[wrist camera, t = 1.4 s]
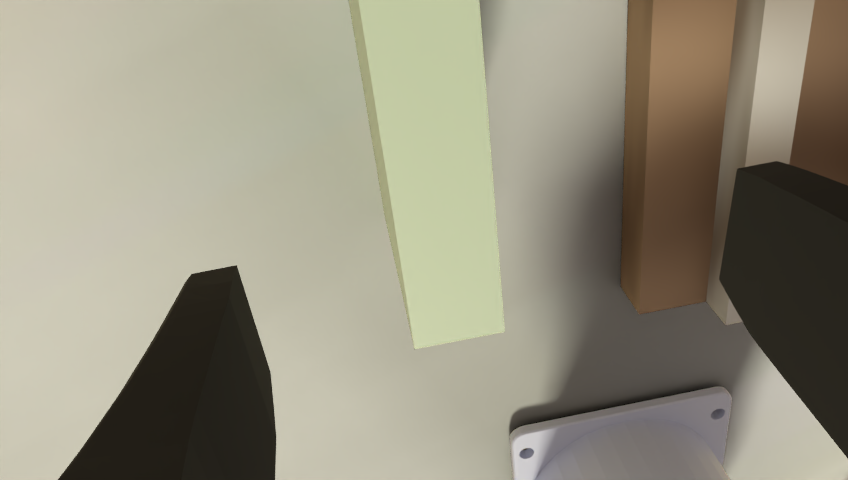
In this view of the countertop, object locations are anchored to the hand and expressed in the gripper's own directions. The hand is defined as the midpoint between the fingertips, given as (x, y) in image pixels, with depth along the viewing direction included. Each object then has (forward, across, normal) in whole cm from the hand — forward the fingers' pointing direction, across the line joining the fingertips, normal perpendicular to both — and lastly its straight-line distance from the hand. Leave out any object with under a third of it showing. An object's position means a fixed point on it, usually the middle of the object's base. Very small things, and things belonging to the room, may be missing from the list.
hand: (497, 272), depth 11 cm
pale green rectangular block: (+10, 0, +1) cm, 10 cm away
